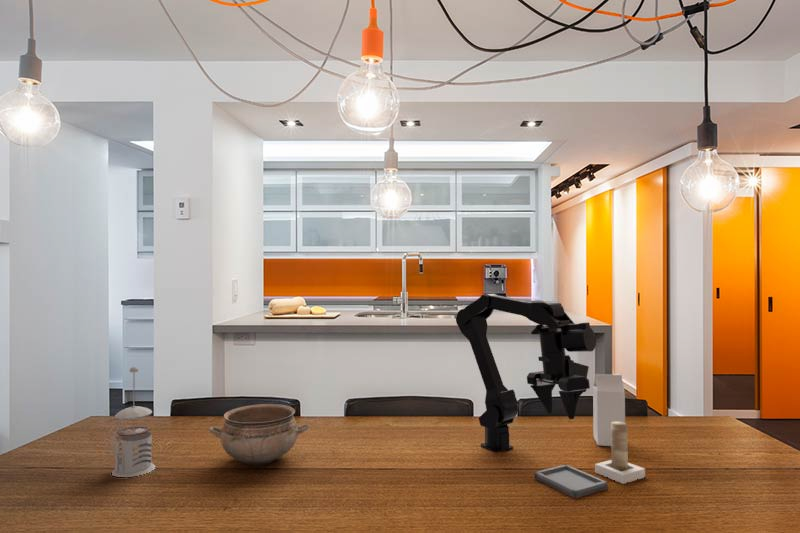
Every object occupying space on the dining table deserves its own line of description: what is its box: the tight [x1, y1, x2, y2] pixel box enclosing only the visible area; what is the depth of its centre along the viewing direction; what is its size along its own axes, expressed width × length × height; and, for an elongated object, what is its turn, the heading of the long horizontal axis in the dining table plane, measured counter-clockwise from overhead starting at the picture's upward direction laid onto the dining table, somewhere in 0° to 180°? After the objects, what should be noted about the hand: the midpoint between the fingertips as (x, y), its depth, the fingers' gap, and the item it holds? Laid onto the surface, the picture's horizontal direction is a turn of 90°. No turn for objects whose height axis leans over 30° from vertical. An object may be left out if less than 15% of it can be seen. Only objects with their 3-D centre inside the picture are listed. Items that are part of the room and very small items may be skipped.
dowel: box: [610, 422, 629, 472], centre depth 121 cm, size 4×4×12 cm
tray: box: [534, 463, 609, 499], centre depth 116 cm, size 12×10×2 cm
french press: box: [106, 366, 157, 477], centre depth 124 cm, size 10×12×25 cm
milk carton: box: [592, 373, 626, 447], centre depth 144 cm, size 7×7×19 cm
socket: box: [594, 459, 646, 485], centre depth 121 cm, size 8×8×2 cm
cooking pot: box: [208, 403, 311, 467], centre depth 131 cm, size 25×19×12 cm
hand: (560, 416), depth 126 cm, fingers open, 9 cm apart
